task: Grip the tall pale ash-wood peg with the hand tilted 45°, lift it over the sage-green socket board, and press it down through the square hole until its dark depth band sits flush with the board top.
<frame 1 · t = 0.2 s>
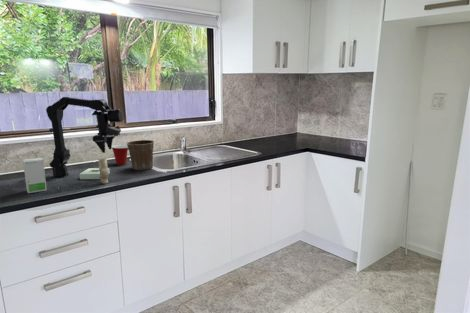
hand: (107, 150, 181), 14 cm above the worktop, tool pointing down, fingers open, 9 cm apart
plant pot: (142, 168, 201), on the worktop
ash peg: (104, 182, 172), on the worktop
socket board: (95, 176, 184), on the worktop
skincare box: (37, 190, 161), on the worktop
plastic cup: (121, 164, 212), on the worktop
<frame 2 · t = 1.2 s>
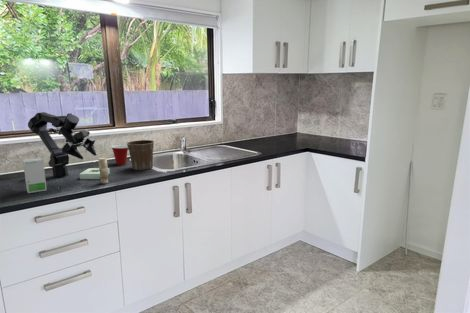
hand: (89, 156, 171), 13 cm above the worktop, tool tilted 45°, fingers open, 9 cm apart
nothing on the worktop moved.
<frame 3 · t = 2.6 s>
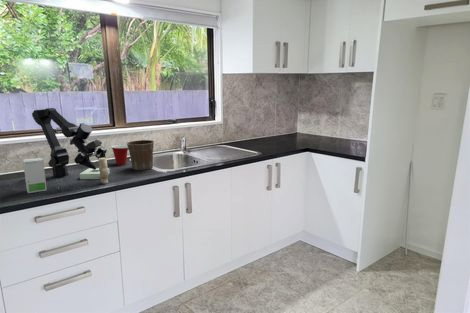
hand: (101, 166, 170), 8 cm above the worktop, tool tilted 45°, fingers open, 9 cm apart
nothing on the worktop moved.
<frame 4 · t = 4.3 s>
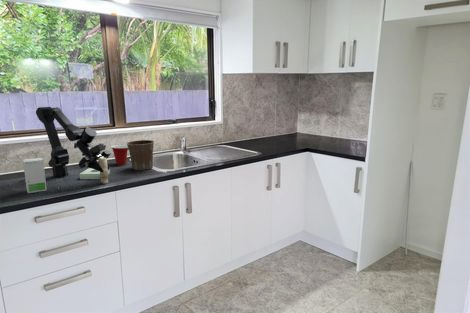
hand: (105, 170, 170), 7 cm above the worktop, tool tilted 45°, fingers closed on ash peg, 4 cm apart
ash peg: (104, 182, 172), on the worktop, touching gripper
everything else where it was.
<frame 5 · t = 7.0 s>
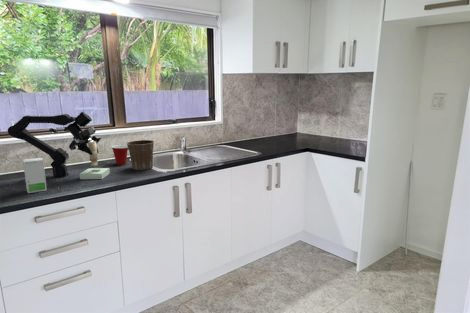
hand: (95, 153, 179), 13 cm above the worktop, tool tilted 45°, fingers closed on ash peg, 4 cm apart
ash peg: (94, 165, 181), point 7 cm above the worktop, touching gripper
everything else where it was.
when the fingers open (7 cm above the worktop, at t = 10.0 s): ash peg stays where it is, resting in socket board.
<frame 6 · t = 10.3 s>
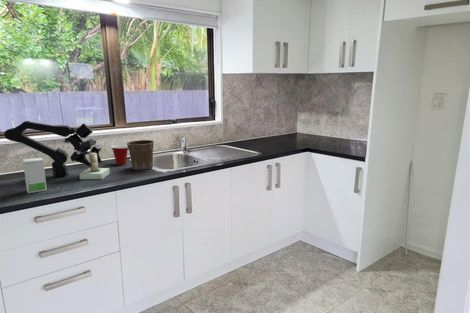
hand: (96, 164, 182), 7 cm above the worktop, tool tilted 45°, fingers open, 8 cm apart
ash peg: (95, 176, 184), resting in socket board
everything else where it was.
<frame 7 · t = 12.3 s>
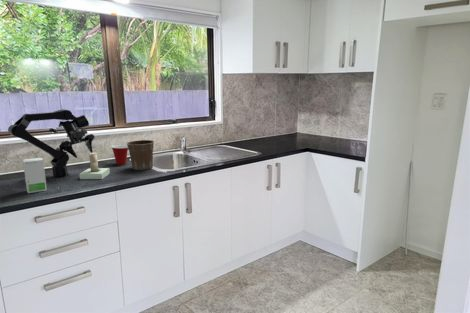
hand: (84, 155, 184), 12 cm above the worktop, tool tilted 30°, fingers open, 9 cm apart
nothing on the worktop moved.
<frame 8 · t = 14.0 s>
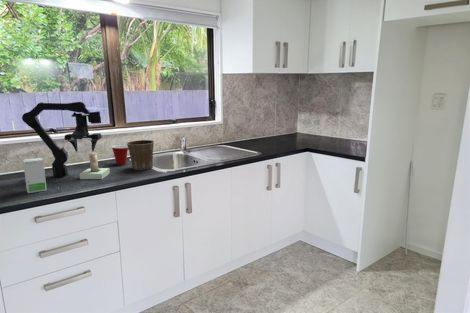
hand: (84, 151, 187), 13 cm above the worktop, tool pointing down, fingers open, 9 cm apart
nothing on the worktop moved.
at the end: ash peg 0.1 cm from the socket board (horizontally); ash peg resting in socket board; ash peg tilted 0° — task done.
